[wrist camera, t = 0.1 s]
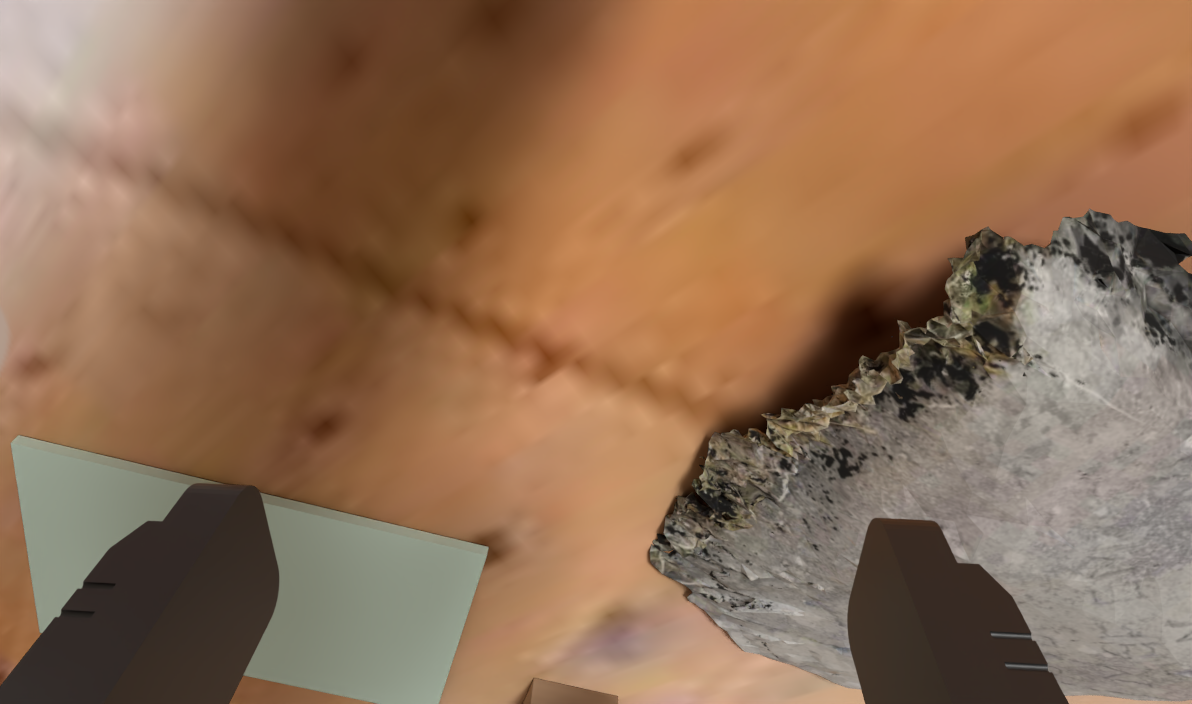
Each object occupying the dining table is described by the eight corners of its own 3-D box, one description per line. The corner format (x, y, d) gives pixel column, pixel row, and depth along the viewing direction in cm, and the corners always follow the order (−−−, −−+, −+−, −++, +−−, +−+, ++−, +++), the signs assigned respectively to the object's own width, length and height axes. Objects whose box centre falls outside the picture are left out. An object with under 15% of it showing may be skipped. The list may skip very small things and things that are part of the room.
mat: (488, 547, 36) (486, 555, 36) (436, 707, 43) (434, 715, 43) (18, 435, 34) (10, 442, 33) (45, 624, 41) (39, 632, 40)
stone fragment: (1130, 728, 43) (1198, 862, 38) (612, 602, 39) (608, 733, 34) (1622, 365, 28) (1845, 501, 23) (880, 105, 24) (945, 197, 19)
